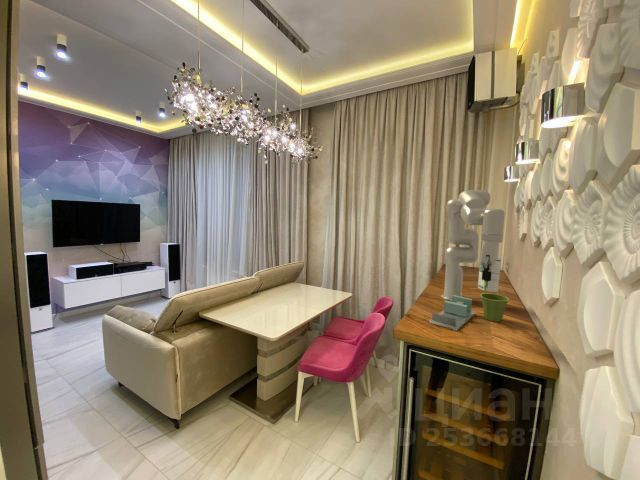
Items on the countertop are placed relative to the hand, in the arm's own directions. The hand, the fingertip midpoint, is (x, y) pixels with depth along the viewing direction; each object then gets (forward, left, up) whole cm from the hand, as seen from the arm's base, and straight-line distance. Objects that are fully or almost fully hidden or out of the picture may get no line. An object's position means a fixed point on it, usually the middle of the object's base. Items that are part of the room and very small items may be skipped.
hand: (488, 278), depth 114 cm
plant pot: (-18, -1, -24) cm, 30 cm away
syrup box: (0, 0, -5) cm, 5 cm away
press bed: (-5, -15, -23) cm, 28 cm away
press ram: (-12, -15, -22) cm, 29 cm away
